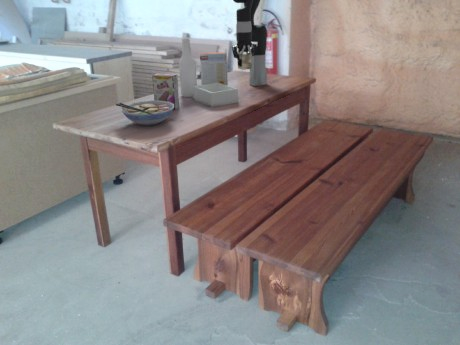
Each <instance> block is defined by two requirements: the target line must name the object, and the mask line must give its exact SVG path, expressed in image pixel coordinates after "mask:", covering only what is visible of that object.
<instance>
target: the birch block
mask: <svg viewBox="0 0 460 345" xmlns="http://www.w3.org/2000/svg"><path fill="white" fill-rule="evenodd" d="M241 59H242V67H239V66H238V65H237V69H238V70H242V71H243V70H244V71H245V70H250V69H252V60H251V54H247V53H246V52H244V53H243V55H242V58H241Z"/></svg>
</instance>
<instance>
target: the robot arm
mask: <svg viewBox="0 0 460 345" xmlns="http://www.w3.org/2000/svg"><path fill="white" fill-rule="evenodd" d="M233 2H234V3H235V4H243V6H244V7H241V8H238V9H237V10H236V26H235V30H236V31H235V32H236V42H237V43H236V44H235V45H232V46H231V51H232V54H233V55H232V56H233V58H234V59H237V67H238V66H239V67H242V59H241V58H242V55H243V54H245V53H246V54H251V60H252V69H249V85H250V86H253V87H257V86H258V87H260V86H261V87H262V86H265V85H267V84H268V80H267V79H268V68H267V67H266V52H267V41H268V38H267V37H268V29H267V26H265V25H264V24H255V14H256V12H257V9H259V8H258V7H259V5H260V2H261V0H233Z"/></svg>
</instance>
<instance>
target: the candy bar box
mask: <svg viewBox="0 0 460 345" xmlns="http://www.w3.org/2000/svg"><path fill="white" fill-rule="evenodd" d="M152 86H153V88H152V90H153V97H154V98H153V101H167V102H171V103H173V104H174V109H173V111H177V110H178V109H179V108H180V98H179V94H180V93H179V81H178V75H177V74H175V73H174V74H173V73H171V74H170V73H155V74H154V73H153V74H152Z"/></svg>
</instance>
